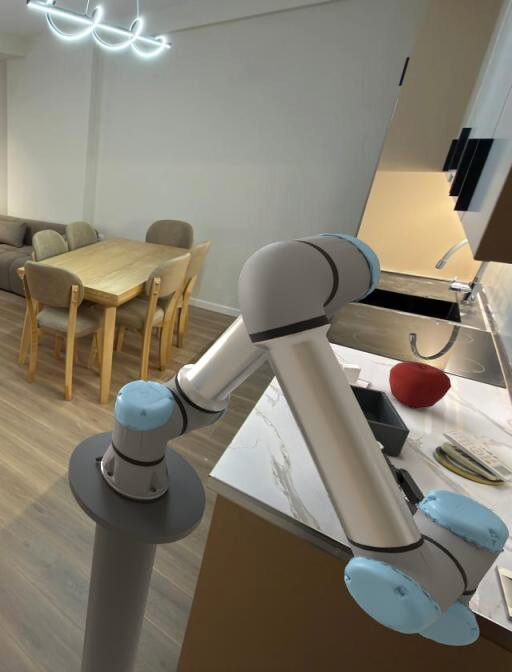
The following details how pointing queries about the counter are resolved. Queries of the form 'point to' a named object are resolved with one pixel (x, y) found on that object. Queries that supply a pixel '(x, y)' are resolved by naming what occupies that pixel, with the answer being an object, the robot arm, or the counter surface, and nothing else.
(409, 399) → the apple
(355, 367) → the napkin holder
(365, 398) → the storage bin
